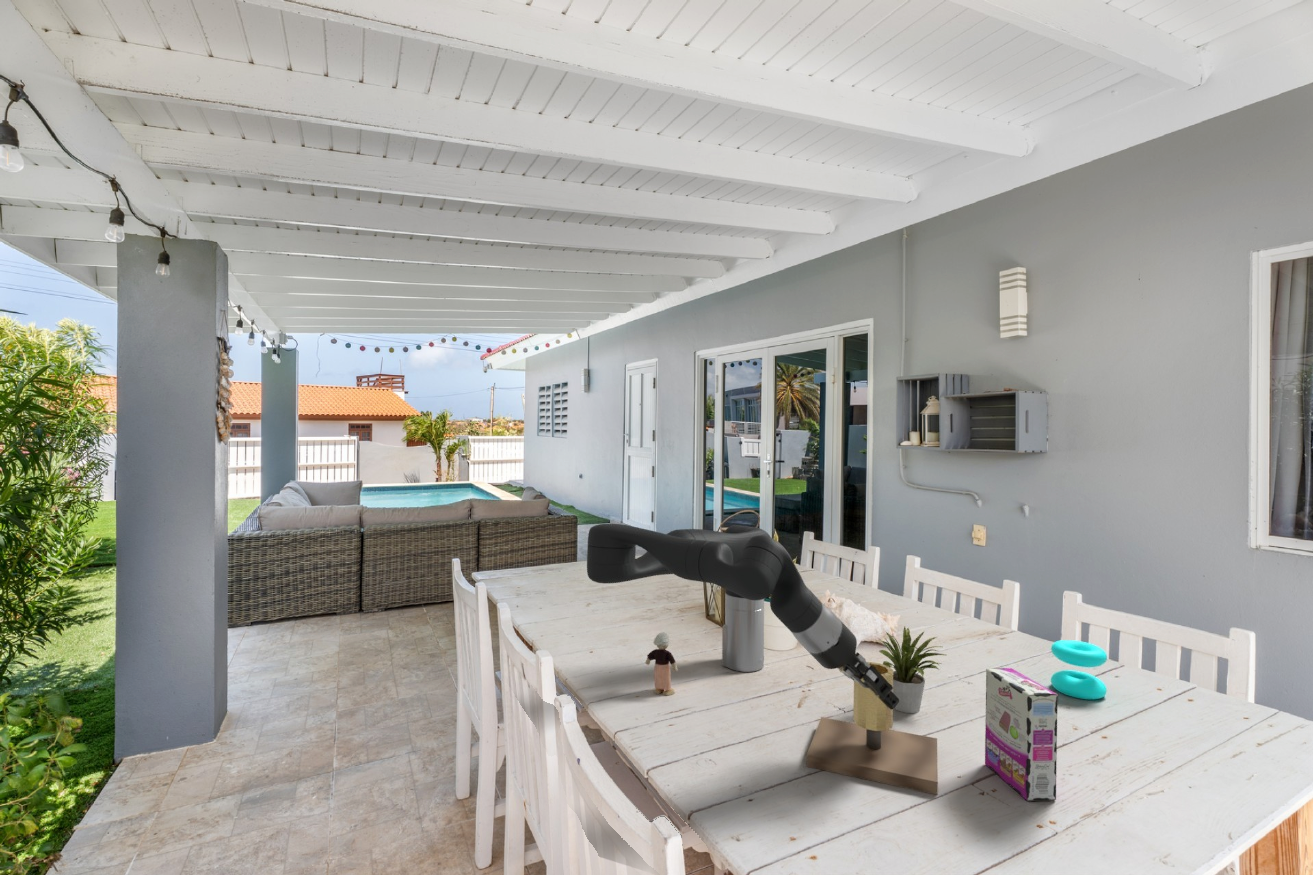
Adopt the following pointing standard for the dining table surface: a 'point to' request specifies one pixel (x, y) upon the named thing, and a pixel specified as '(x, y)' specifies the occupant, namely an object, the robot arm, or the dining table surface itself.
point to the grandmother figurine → (662, 665)
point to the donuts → (1074, 680)
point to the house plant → (908, 670)
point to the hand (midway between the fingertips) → (881, 695)
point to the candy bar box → (1021, 733)
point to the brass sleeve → (872, 704)
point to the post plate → (875, 755)
